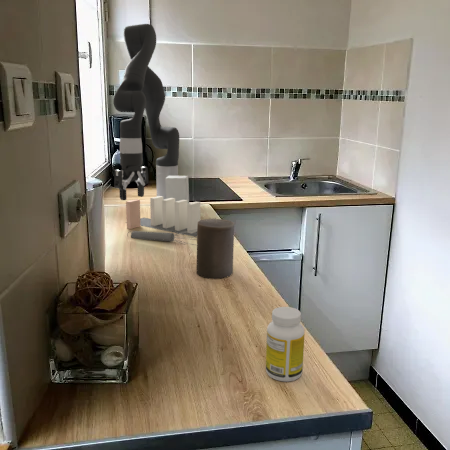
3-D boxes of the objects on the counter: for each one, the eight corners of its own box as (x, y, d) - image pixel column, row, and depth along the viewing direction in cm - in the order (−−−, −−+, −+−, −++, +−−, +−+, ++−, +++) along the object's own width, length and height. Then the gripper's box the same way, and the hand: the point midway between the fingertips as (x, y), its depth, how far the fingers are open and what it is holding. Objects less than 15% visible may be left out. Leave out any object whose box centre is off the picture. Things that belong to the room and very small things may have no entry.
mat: (143, 218, 186) (143, 217, 186) (212, 231, 169) (212, 230, 169) (125, 223, 178) (125, 222, 178) (195, 237, 161) (195, 236, 161)
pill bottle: (298, 363, 85) (302, 304, 82) (305, 383, 79) (309, 320, 76) (263, 363, 85) (265, 304, 82) (267, 383, 79) (270, 320, 76)
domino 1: (136, 226, 174) (136, 199, 172) (140, 227, 173) (139, 199, 171) (126, 229, 170) (126, 201, 167) (130, 230, 169) (129, 202, 167)
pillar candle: (200, 280, 123) (202, 223, 119) (192, 267, 132) (193, 214, 128) (237, 277, 125) (239, 221, 122) (227, 265, 135) (229, 213, 131)
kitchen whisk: (132, 235, 163) (131, 217, 161) (225, 248, 151) (226, 229, 150) (122, 240, 157) (121, 221, 156) (218, 254, 146) (218, 234, 144)
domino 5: (196, 229, 170) (196, 201, 167) (200, 230, 169) (200, 202, 166) (187, 232, 166) (187, 203, 163) (191, 233, 165) (191, 204, 162)
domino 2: (159, 222, 178) (159, 195, 176) (163, 223, 177) (163, 196, 175) (150, 225, 174) (150, 198, 172) (154, 226, 173) (154, 198, 171)
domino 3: (171, 224, 175) (171, 197, 173) (175, 225, 175) (175, 198, 172) (162, 227, 171) (162, 199, 169) (166, 228, 170) (166, 200, 168)
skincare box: (189, 214, 195) (189, 175, 191) (186, 217, 188) (186, 178, 184) (169, 213, 195) (168, 174, 192) (165, 216, 189) (165, 177, 185)
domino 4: (183, 227, 173) (183, 199, 170) (187, 227, 172) (187, 200, 169) (174, 230, 168) (174, 201, 166) (178, 230, 168) (178, 202, 165)
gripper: (137, 149, 173) (138, 194, 176) (107, 151, 161) (109, 199, 165) (153, 150, 169) (154, 196, 173) (124, 153, 157) (125, 202, 161)
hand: (132, 198), depth 169 cm, fingers open, 8 cm apart
